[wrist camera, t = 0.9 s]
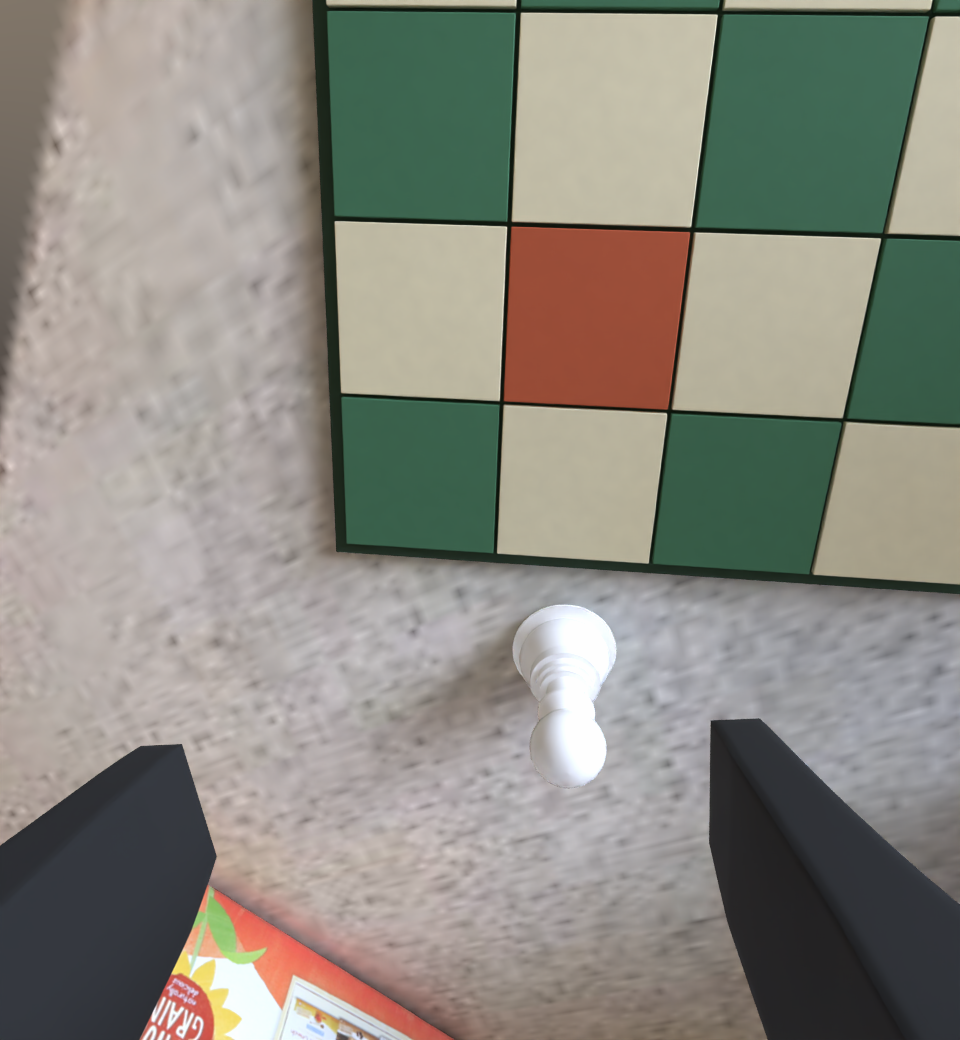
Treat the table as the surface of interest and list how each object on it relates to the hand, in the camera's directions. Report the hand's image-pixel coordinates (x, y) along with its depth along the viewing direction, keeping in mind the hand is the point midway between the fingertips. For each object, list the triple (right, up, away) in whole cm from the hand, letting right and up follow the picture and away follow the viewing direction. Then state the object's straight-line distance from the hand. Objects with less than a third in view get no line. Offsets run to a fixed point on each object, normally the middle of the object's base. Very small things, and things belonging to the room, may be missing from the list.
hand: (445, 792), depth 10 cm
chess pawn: (+3, 0, +10) cm, 11 cm away
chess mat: (+5, +10, +6) cm, 13 cm away
